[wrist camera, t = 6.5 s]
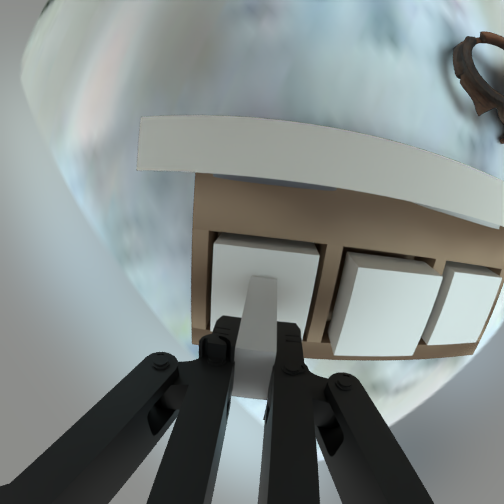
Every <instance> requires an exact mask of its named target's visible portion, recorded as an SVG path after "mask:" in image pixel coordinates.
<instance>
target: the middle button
mask: <svg viewBox="0 0 504 504" xmlns="http://www.w3.org/2000/svg"><path fill="white" fill-rule="evenodd" d="M442 279H443V276H442V275H441V274H439V273H438V272H437V271H436V270H434V269H433V268H432V267H430V266H429V265H428V264H427V263H425V262H424V261H416V260H409V259H401V258H394V257H386V256H378V255H370V254H363V253H355V252H347V253H346V258H345V262H344V267H343V272H342V276H341V281H340V285H339V289H338V294H337V298H336V302H335V306H334V310H333V314H332V317H331V321H330V325H329V329H328V335H329V339H330V343H331V346H332V350H333V354H334V355H338V356H412V355H413V353H414V351H415V349H416V347H417V345H418V342H419V340H420V338H421V335H422V333H423V331H424V328H425V326H426V323H427V321H428V318H429V316H430V313H431V311H432V308H433V305H434V302H435V300H436V297H437V294H438V291H439V288H440V285H441V282H442Z"/></svg>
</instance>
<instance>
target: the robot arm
mask: <svg viewBox="0 0 504 504" xmlns="http://www.w3.org/2000/svg"><path fill="white" fill-rule="evenodd" d="M231 396H237V397H244V398H253V399H262V400H267V406H266V410H265V415H264V419H263V420H265V425H264V439H263V450H262V462H261V463H262V464H261V474H260V485H259V496H258V504H320V497H319V480H318V463H317V449H316V439H317V441H318V444H319V446H320V449H321V451H322V454H323V456H324V459H325V461H326V464H327V466H328V469H329V471H330V474H331V476H332V479H333V481H334V484H335V486H336V489H337V491H338V494H339V496H340V499H341V501H342V504H434V503H433V501H432V499H431V497H430V496H429V494H428V492H427V490H426V489H425V487H424V485H423V484H422V482H421V480H420V479H419V477H418V475H417V473H416V472H415V470H414V469H413V467H412V465H411V463H410V462H409V460H408V458H407V457H406V455H405V453H404V452H403V450H402V449H401V447H400V445H399V444H398V442H397V441H396V439H395V437H394V435H393V434H392V432H391V431H390V429H389V427H388V426H387V424H386V423H385V421H384V419H383V418H382V416H381V414H380V413H379V411H378V410H377V408H376V406H375V405H374V403H373V402H372V400H371V399H370V397H369V395H368V394H367V392H366V391H365V389H364V387H363V386H362V384H361V383H360V381H359V380H358V379H357V378H356V377H355V376H353V375H351V374H348V373H335V374H333V375H331V376H330V377H329V379H327V378H323V377H320V376H317V375H315V374H313V373H311V372H310V371H309V369H308V367H307V366H306V365H305V364H304V356H303V347H302V338H301V330H300V328H299V327H298V326H297V324H296V323H290V322H280V321H277V279H271V278H262V277H253V276H251V278H250V282H249V287H248V292H247V296H246V301H245V305H244V310H243V314H242V318H240V317H232V316H225V315H223V316H221V317H220V318H219V319H218V320H217V321H216V323H215V326H214V329H213V332H212V334H207V335H205V336H203V337H202V338H201V339H200V340H199V358H198V359H196V360H193V361H186V362H178V361H177V359H176V358H175V356H173V355H171V354H169V353H166V352H156V353H152V354H150V355H149V356H147V357H146V358H145V359H144V360H143V361H142V362H141V363H139V364H138V365H137V366H136V367H135V368H134V369H133V370H132V371H131V372H130V373H129V374H128V375H127V376H126V377H125V378H123V379H122V380H121V381H120V382H119V383H118V384H117V385H116V386H115V387H114V388H113V389H112V390H111V391H110V392H108V393H107V394H106V395H105V396H104V397H103V398H102V399H101V400H100V401H99V402H98V403H97V404H96V405H94V406H93V407H92V408H91V409H90V410H89V411H88V412H87V413H86V414H85V415H84V416H83V417H81V418H80V419H79V420H78V421H77V422H76V423H75V424H74V425H73V426H72V427H71V428H70V429H69V430H67V431H66V432H65V433H64V434H63V435H62V436H61V437H60V438H59V439H58V440H57V441H56V442H54V443H53V444H52V445H51V446H50V447H49V448H48V449H47V450H46V451H45V452H44V453H43V454H42V455H40V456H39V457H38V458H37V459H36V460H35V461H34V462H33V463H32V464H31V465H30V466H28V467H27V468H26V469H25V470H24V471H23V472H22V473H21V474H20V475H19V476H18V477H16V478H15V479H14V480H13V481H12V482H11V483H10V484H6V485H3V486H0V504H108V503H109V502H110V501H111V500H112V498H113V497H114V496H115V495H116V494H117V492H118V491H119V490H120V489H121V488H122V486H123V485H124V484H125V483H126V481H127V480H128V479H129V478H130V477H131V475H132V474H133V473H134V472H135V470H136V469H137V468H138V467H139V465H140V464H141V463H142V462H143V460H144V459H145V458H146V457H147V455H148V454H149V453H150V451H151V450H152V449H153V447H154V446H155V445H156V444H157V442H158V441H159V440H160V438H161V437H162V436H163V435H164V433H165V432H166V430H167V429H168V428H169V427H170V425H171V424H172V423H173V421H174V420H175V419H176V418H177V419H176V422H175V424H174V427H173V430H172V433H171V435H170V439H169V441H168V444H167V447H166V449H165V452H164V455H163V458H162V461H161V464H160V466H159V469H158V472H157V475H156V478H155V480H154V483H153V486H152V489H151V492H150V495H149V498H148V501H147V504H211V501H212V497H213V491H214V486H215V481H216V476H217V471H218V466H219V461H220V456H221V451H222V445H223V441H224V436H225V430H226V425H227V419H228V415H229V409H230V403H231V402H230V401H231ZM267 397H268V399H267Z"/></svg>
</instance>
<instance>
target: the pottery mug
mask: <svg viewBox="0 0 504 504" xmlns="http://www.w3.org/2000/svg"><path fill="white" fill-rule="evenodd" d="M478 43H487V44H492V45H495V46H498V47H500V48H502V49H503V50H504V37H502V36H499V35H497V34H494V33H491V32H480V38H475V37H470V36H467V37H466V38H465V40H464V41H463V42H461V43H460V44H458V45H457V46H456V47H455V48H454V50H453V66H454V70H455V75H456V77H457V78H459V79H460V84H461V85H462V87H463V88H464V90H465V91H466V92H467V93H468V95H469V96H470V97H471V99H472V100H473V103H474V105H475V109H476V112H477V114H478V116H480V115H481V114H483V113H485V112H487V111H489V110H491V109H493V108H497V110H498V116H499V118H500V120H501V122H502V123H503V125H504V96H503V95H502V94H500V93H498V92H497V91H495V90H494V89H493V88H492V87H491V86H490V85H489V84H488V83H487V82H486V81H485V80H484V79H483V78H482V76H481V75H480V74H479V73H478V71H477V69H476V67H475V65H474V62H473V59H472V49H473V47H474V46H475V45H476V44H478ZM500 143H501V144H504V138H503V139H501V140H500Z"/></svg>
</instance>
